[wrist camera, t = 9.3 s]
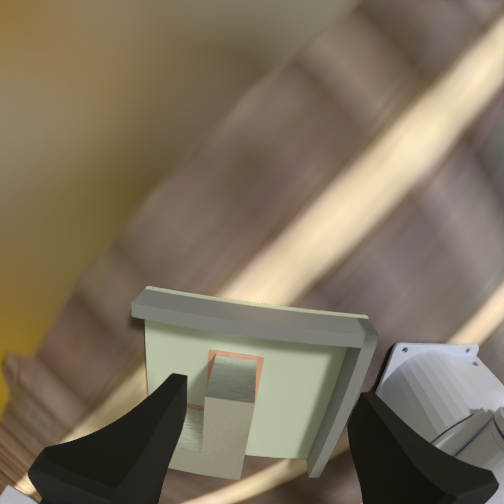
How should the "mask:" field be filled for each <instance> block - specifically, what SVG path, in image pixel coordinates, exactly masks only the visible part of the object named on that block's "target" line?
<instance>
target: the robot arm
mask: <svg viewBox="0 0 504 504" xmlns="http://www.w3.org/2000/svg"><path fill="white" fill-rule="evenodd" d="M404 348H406V349H405V350H403V349H404ZM466 349H467V350H466ZM402 350H403V351H402ZM478 350H479V346H478V345H477V344H427V343H397V344H395V345H394V347H393V349H392V351H391V354H390V357H389V359H388V362H387V365H386V367H385V370H384V372H383V375H382V377H381V380H380V382H379V385H378V387H377V389H376V392H375V393H365V392H361V394H360V397H359V399H358V402H357V404H356V406H355V409H354V411H353V413H352V416H351V418H350V420H349V422H348V425H347V428H348V438H349V445H350V449H351V453H352V456H353V460H354V464H355V468H356V471H357V475H358V479H359V482H360V487H361V492H362V500H363V504H504V386H503V384H502V383H501V382H500V381H499V380H498V379H497V378H496V377H495V376H494V375H493V374H492V372H491V371H490V370H489V369H488V368H487V367H486V366H485V365H484V364H483V363H482V362H481V361H480V360H479V359H478V358H477V356H476V355H477V352H478ZM187 381H188V375H182V374H177V373H172V374H170V375H169V376H168V377H167V379H166V380H165V381H164V382H163V383H162V384H161V385H160V386H159V387H158V388H157V389H156V390H155V391H154V392H153V393H151V394H150V395H149V396H148V397H147V398H146V399H145V400H144V401H142V402H141V403H140V404H139V405H137V406H136V407H135V408H134V409H132V410H131V411H130V412H128V413H127V414H125V415H124V416H123V417H121V418H119V419H118V420H116V421H115V422H113V423H111V424H109V425H108V426H106V427H104V428H102V429H100V430H98V431H96V432H94V433H92V434H89V435H87V436H84V437H81V438H79V439H76V440H73V441H70V442H66V443H62V444H58V445H54V446H49V447H45V448H44V449H43V451H42V452H41V453H40V454H39V455H38V457H37V458H36V460H35V461H34V463H33V464H32V466H31V467H30V469H29V470H28V477H29V479H30V481H31V483H32V484H33V486H34V487H35V488H36V490H37V491H38V493H39V494H40V495H41V497H42V500H41V502H40V504H158V502H159V498H160V494H161V489H162V485H163V481H164V478H165V475H166V472H167V469H168V466H169V464H170V461H171V458H172V456H173V453H174V451H175V448H176V445H177V443H178V440H179V438H180V435H181V432H182V429H183V425H184V421H185V417H186V412H187ZM0 504H39V503H38V502H36V501H35V500H34V499H32V498H31V497H29V496H27V495H26V494H24V493H22V492H21V491H19V490H17V489H16V488H14V487H12V486H11V485H7V487H6V488H5V490H4V491H3V493H2V494H1V496H0Z"/></svg>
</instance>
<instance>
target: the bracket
mask: <svg viewBox="0 0 504 504" xmlns="http://www.w3.org/2000/svg"><path fill="white" fill-rule="evenodd" d="M256 371H257V359H254V358H246V357H238V356H231V355H224V354H217V353H216V356H215V360H214V364H213V368H212V371H211V375H210V379H209V383H208V387H207V390H206V394H205V403H204V409H201V408H195V407H190V406H187V412H186V417H185V421H184V425H183V429H182V432H181V435H180V438H179V440H178V443H177V445H176V448H175V451H174V453H173V456H172V458H171V461H170V464H169V466H168V468H171V469H175V470H180V471H185V472H190V473H196V474H202V475H208V476H214V477H221V478H228V479H237V480H240V476H241V472H242V467H243V462H244V457H245V452H246V446H247V441H248V436H249V431H250V426H251V420H252V415H253V410H254V404H255V389H256Z"/></svg>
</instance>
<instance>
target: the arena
mask: <svg viewBox="0 0 504 504" xmlns="http://www.w3.org/2000/svg"><path fill="white" fill-rule="evenodd" d="M131 305H132V317H136V318H141V319H145V343H146V366H147V383H148V396H149V395H150V394H151V393H153V392H154V391H155V390H156V389H157V388H158V387H159V386H160V385H161V384H162V383H163V382H164V381H165V380H166V379H167V377H168V376H169V375H170V374H172V373H177V374H182V375H188V381H187V406H190V407H195V408H201V409H204V403H205V394H206V390H207V387H208V383H209V379H210V375H211V371H212V368H213V364H214V360H215V356H216V353H217V354H224V355H231V356H238V357H246V358H254V359H257V371H256V389H255V404H254V410H253V415H252V420H251V426H250V431H249V436H248V441H247V446H246V452H245V455H253V456H264V457H277V458H296V459H307V467H308V476H309V478H319V477H320V475H321V473H322V471H323V470H324V468H325V466H326V464H327V462H328V460H329V458H330V456H331V454H332V452H333V450H334V448H335V446H336V444H337V441H338V439H339V437H340V435H341V433H342V431H343V428H344V426H345V424H346V422H347V420H348V417H349V415H350V413H351V410H352V408H353V406H354V403H355V401H356V398H357V396H358V393H359V391H360V388H361V386H362V383H363V381H364V378H365V375H366V373H367V370H368V367H369V365H370V362H371V359H372V356H373V353H374V350H375V348H376V345H377V342H378V339H379V334H378V332H377V331H376V329H375V328H374V326H373V324H372V323H371V321H370V320H369V318H368V317H367V315H359V314H349V313H339V312H329V311H320V310H311V309H302V308H294V307H286V306H278V305H270V304H262V303H255V302H247V301H240V300H233V299H226V298H219V297H213V296H206V295H200V294H193V293H187V292H181V291H175V290H169V289H163V288H157V287H151V286H147V287H146V288H145V289H144V290H143V291H142V292H141V293H140V294H139V295H138V296H137V297H136V299H135V300H134V301H133V302H132V303H131Z"/></svg>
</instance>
